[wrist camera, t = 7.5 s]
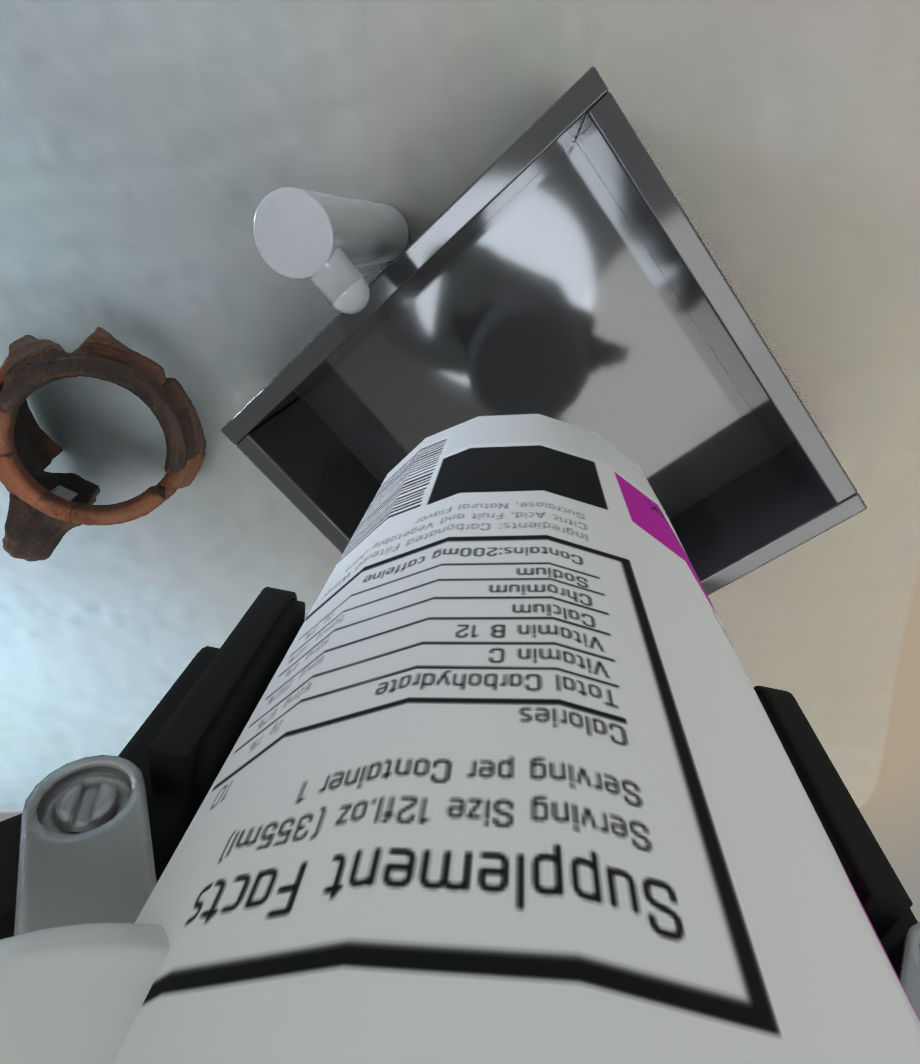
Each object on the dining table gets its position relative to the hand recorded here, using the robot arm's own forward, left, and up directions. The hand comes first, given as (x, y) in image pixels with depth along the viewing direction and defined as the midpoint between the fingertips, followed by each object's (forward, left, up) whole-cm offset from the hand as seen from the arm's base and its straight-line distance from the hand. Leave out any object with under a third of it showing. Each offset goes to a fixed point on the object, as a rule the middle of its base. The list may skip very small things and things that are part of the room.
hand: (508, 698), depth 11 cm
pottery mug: (-13, -17, -19) cm, 28 cm away
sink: (-1, 0, -19) cm, 19 cm away
